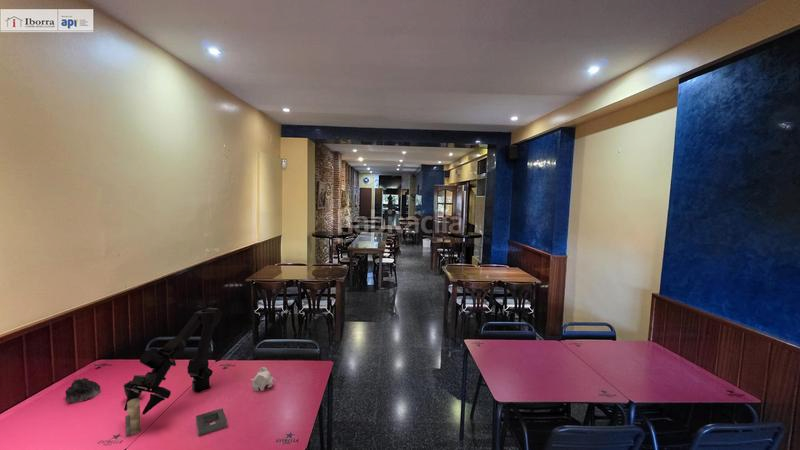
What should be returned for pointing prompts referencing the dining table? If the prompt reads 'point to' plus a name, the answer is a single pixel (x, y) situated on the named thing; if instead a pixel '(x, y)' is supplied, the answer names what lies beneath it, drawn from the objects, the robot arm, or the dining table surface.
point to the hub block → (205, 418)
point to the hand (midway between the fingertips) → (133, 412)
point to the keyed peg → (133, 417)
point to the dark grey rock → (82, 390)
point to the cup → (126, 391)
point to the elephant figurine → (262, 379)
